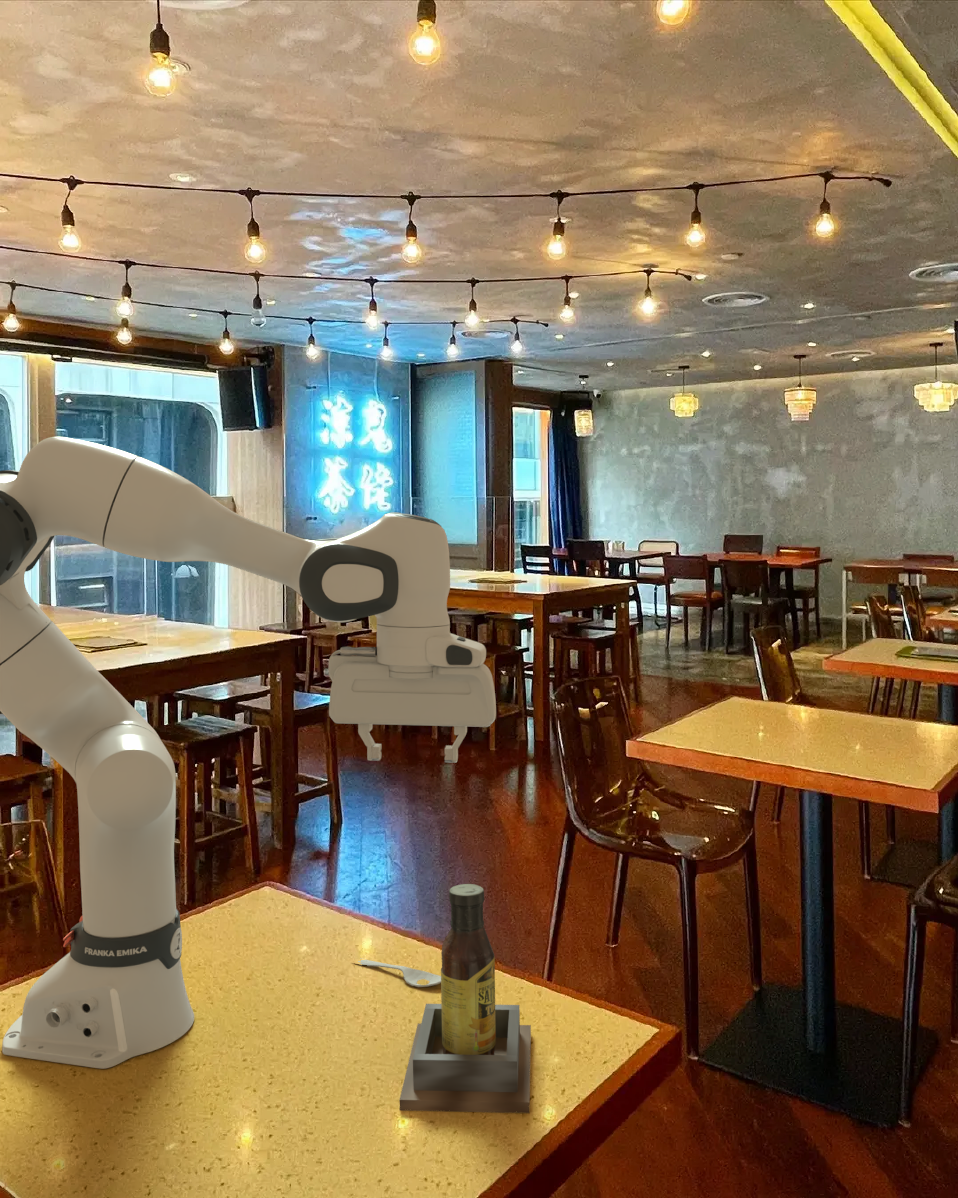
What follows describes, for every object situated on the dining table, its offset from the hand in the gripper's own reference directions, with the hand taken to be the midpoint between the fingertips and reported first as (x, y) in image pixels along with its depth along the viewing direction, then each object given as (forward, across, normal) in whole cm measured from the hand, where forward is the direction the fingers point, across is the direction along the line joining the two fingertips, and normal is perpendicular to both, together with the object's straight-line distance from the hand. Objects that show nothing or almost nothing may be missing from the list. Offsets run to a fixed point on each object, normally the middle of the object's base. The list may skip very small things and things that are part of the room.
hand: (412, 760), depth 119 cm
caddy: (+34, +8, -8) cm, 36 cm away
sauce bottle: (+33, +8, -7) cm, 35 cm away
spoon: (+35, -6, +17) cm, 39 cm away
